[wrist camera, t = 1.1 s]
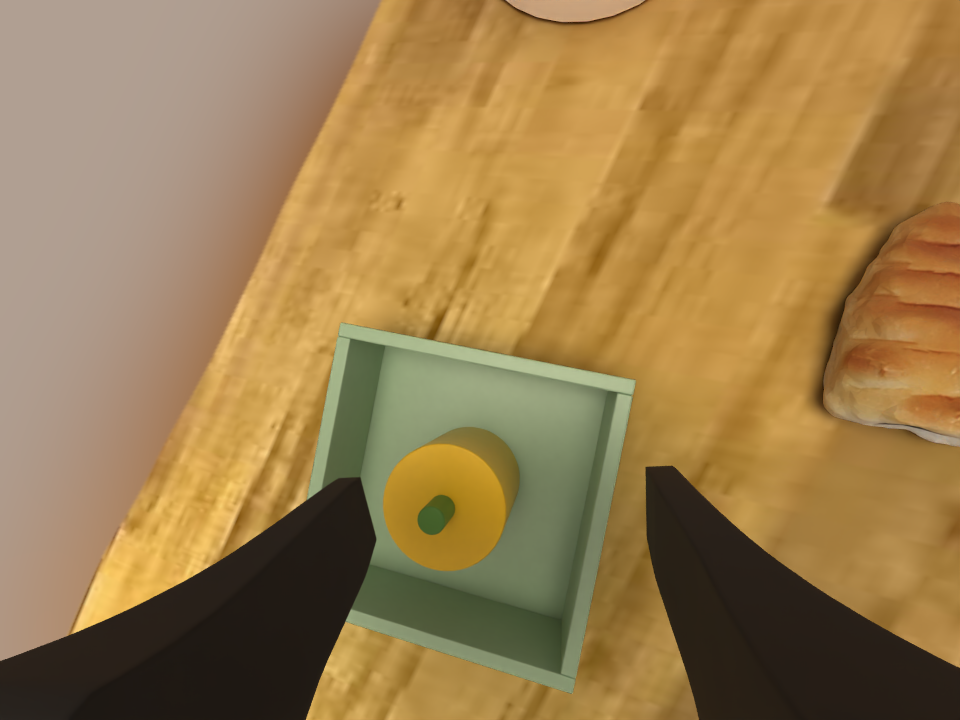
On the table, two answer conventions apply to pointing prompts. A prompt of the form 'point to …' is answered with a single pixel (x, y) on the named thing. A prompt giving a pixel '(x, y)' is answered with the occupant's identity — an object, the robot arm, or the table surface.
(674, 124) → the table surface
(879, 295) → the pastry
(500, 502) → the pepper
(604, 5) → the cup
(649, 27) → the table surface
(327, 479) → the basket
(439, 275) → the table surface
